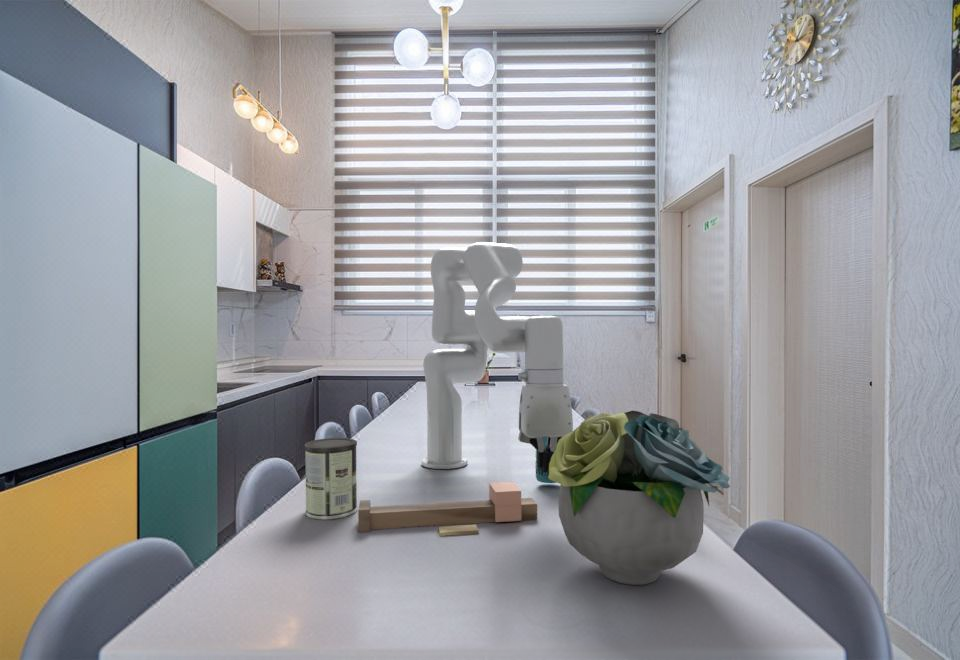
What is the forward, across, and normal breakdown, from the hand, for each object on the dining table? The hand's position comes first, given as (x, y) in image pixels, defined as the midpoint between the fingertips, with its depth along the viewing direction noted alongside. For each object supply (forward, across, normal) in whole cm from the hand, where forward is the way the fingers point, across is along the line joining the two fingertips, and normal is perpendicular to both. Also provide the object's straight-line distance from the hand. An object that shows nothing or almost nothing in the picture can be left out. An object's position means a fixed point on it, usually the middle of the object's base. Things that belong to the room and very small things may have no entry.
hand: (545, 470), depth 111 cm
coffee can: (+9, -42, +11) cm, 44 cm away
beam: (+9, -18, +1) cm, 20 cm away
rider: (+9, -8, +1) cm, 12 cm away
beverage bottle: (+9, +7, +21) cm, 23 cm away
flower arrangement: (+10, +5, -27) cm, 29 cm away
